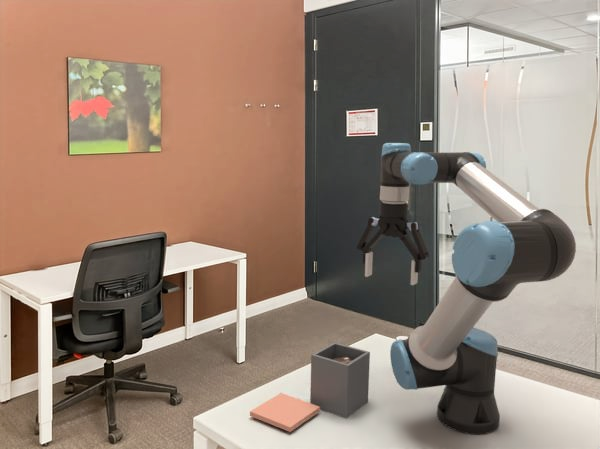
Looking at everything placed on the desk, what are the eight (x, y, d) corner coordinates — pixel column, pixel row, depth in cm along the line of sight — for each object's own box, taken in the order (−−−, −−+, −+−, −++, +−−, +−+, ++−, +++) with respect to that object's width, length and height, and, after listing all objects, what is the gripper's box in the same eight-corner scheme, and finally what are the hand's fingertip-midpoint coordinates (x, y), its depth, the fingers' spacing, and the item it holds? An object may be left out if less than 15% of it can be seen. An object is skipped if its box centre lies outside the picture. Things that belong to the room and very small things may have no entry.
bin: (368, 401, 150) (369, 352, 148) (346, 418, 141) (348, 365, 139) (332, 390, 157) (334, 342, 154) (310, 405, 148) (311, 354, 145)
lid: (319, 414, 143) (320, 406, 143) (290, 435, 133) (290, 427, 133) (280, 400, 151) (280, 392, 150) (249, 419, 141) (249, 411, 140)
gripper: (444, 204, 144) (439, 284, 148) (359, 196, 159) (357, 269, 162) (433, 207, 138) (428, 290, 142) (346, 199, 153) (343, 274, 156)
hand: (390, 279), depth 152 cm, fingers open, 13 cm apart
